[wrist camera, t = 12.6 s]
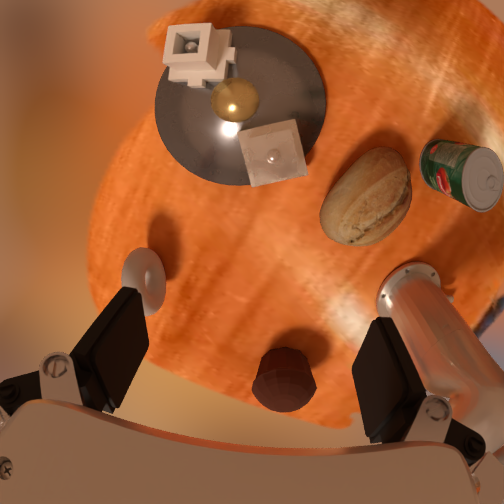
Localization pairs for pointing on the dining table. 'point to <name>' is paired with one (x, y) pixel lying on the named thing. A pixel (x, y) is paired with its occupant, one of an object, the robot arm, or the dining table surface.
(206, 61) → the hollow square tube block
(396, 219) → the bread roll
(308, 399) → the muffin
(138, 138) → the dining table surface
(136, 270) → the donut
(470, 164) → the canned tomato
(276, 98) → the carrier
